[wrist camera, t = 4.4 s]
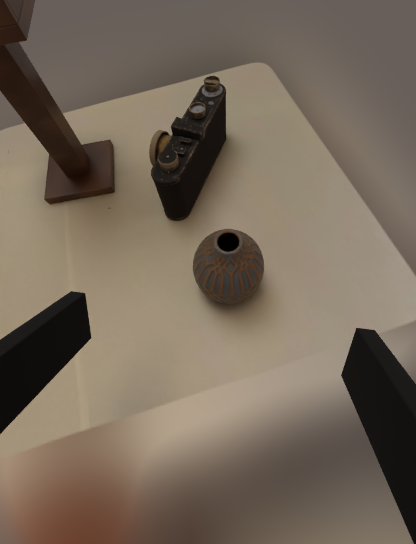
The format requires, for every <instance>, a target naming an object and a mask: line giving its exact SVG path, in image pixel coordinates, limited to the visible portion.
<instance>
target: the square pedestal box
mask: <svg viewBox="0 0 416 544" xmlns="http://www.w3.org/2000/svg"><path fill="white" fill-rule="evenodd" d="M34 3H35V0H0V91H1V92H2V94H3V95H4V96H5V97H6V99H7V100H8V101H9V103H10V104H11V105H12V106H13V108H14V109H15V110H16V112H17V113H18V114H19V115H20V117H21V118H22V119H23V121H24V122H25V123H26V124H27V126H28V127H29V128H30V130H31V131H32V132H33V133H34V135H35V136H36V137H37V139H38V140H39V141H40V143H41V144H42V145H43V146H44V148H45V149H46V150H47V152H48V153H49V161H48V171H47V180H46V189H45V200H46V201H47V202H48V203H49V204H51V203H56V202H62V201H67V200H73V199H78V198H84V197H89V196H95V195H100V194H106V193H111V192H114V165H113V144H112V142H111V140H106V141H100V142H95V143H89V144H83V145H81V143H80V142H79V140H78V138H77V137H76V135H75V134H74V132H73V130H72V129H71V127H70V125H69V124H68V122H67V120H66V119H65V117H64V116H63V114H62V112H61V111H60V109H59V107H58V106H57V104H56V102H55V101H54V99H53V98H52V96H51V95H50V93H49V91H48V90H47V88H46V86H45V85H44V83H43V81H42V80H41V78H40V76H39V75H38V73H37V71H36V70H35V68H34V67H33V65H32V63H31V62H30V60H29V58H28V57H27V55H26V53H25V52H24V50H23V49H22V47H21V45H20V44H19V42H21V41H26V40H27V37H28V32H29V27H30V22H31V18H32V13H33V8H34Z"/></svg>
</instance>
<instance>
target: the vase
mask: <svg viewBox="0 0 416 544" xmlns="http://www.w3.org/2000/svg"><path fill="white" fill-rule="evenodd" d="M193 272H194V277H195V280H196V282H197V284H198V286H199V288H200V289H201V291H202V292H203V293H204V294H205V295H206V296H208V297H209V298H210V299H212V300H214V301H217V302H220V303H225V304H231V303H237V302H240V301H243V300H245V299H246V298H248V297H249V296H251V295H252V294H253V293H254V292H255V291H256V289H257V288H258V286H259V284H260V282H261V280H262V277H263V272H264V260H263V256H262V253H261V250H260V248H259V246H258V245H257V243H256V242H255V241H254V240H253V239H252V238H251V237H250V236H249V235H247V234H245V233H243V232H241V231H238V230H233V229H224V230H219V231H216V232H214V233H212V234H210V235H209V236H207V237H206V238H205V239H204V240H203V241H202V242H201V244H200V245H199V247H198V248H197V250H196V253H195V256H194V260H193Z"/></svg>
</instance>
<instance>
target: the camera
mask: <svg viewBox="0 0 416 544" xmlns="http://www.w3.org/2000/svg"><path fill="white" fill-rule="evenodd" d="M171 129H172V133H173V134H172V136H170V135H169V134H168V132H166V131H161V130H159V131H157V132H156V133H155V134H154V136H153V137H152V140H151V144H150V152H149V153H150V161H151V164H152V165H153V168H152V170H151V176H152V178H153V180H154V183H155V185H156V188H157V191H158V194H159V196H160V199H161V202H162V205H163V207H164V211H165V214H166V216H167V217H168V218H170V219H172V220H183V219H185V218H186V217H187V216H188V215H189V214H190V212H191V209H192V207H193V205H194V203H195V201H196V199H197V197H198V195H199V193H200V191H201V189H202V187H203V185H204V183H205V181H206V179H207V177H208V175H209V173H210V171H211V169H212V167H213V165H214V163H215V160H216V158H217V156H218V154H219V152H220V150H221V148H222V146H223V144H224V142H225V140H226V89H225V87H224V86H223V85H222V84H220V80H219V78H218V77H216V76H209V77H207V78H205V80H204V85H203V86H201V88H200V89H199V91H198V93H197V94H196V96H195V98H194V99H193V101H192V103H191V104H190V106H189V108H188V109H187V111H186V113H185V114H184V116H183V118H182V119H181V118H178V117H176V119H175V120H174V122H173V124H172V125H171Z"/></svg>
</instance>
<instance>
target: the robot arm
mask: <svg viewBox="0 0 416 544" xmlns="http://www.w3.org/2000/svg"><path fill="white" fill-rule="evenodd" d="M90 339H91V333H90V325H89V318H88V311H87V304H86V296H85V293H80V292H72V291H71V292H70V293H68V294H67V295H65V296H64V297H62V298H61V299H59V300H58V301H56V302H55V303H53V304H52V305H51V306H49V307H48V308H46V309H45V310H43V311H42V312H40V313H39V314H37V315H36V316H34V317H33V318H31V319H30V320H29V321H27V322H26V323H24V324H23V325H21V326H20V327H18V328H17V329H15V330H14V331H12V332H11V333H9V334H8V335H7V336H5V337H4V338H2V339H1V340H0V434H1V433H2V432H3V431H4V430H5V428H6V427H7V426H8V425H9V424H10V423H11V422H12V421H13V420H14V419H15V418H16V417H17V416H18V415H19V414H20V413H21V412H22V411H23V409H24V408H25V407H26V406H27V405H28V404H29V403H30V402H31V401H32V400H33V399H34V398H35V397H36V396H37V395H38V394H39V393H40V391H41V390H42V389H43V388H44V387H45V386H46V385H47V384H48V383H49V382H50V381H51V380H52V379H53V378H54V377H55V376H56V375H57V374H58V372H59V371H60V370H61V369H62V368H63V367H64V366H65V365H66V364H67V363H68V362H69V361H70V360H71V359H72V358H73V357H74V356H75V355H76V353H77V352H78V351H79V350H80V349H81V348H82V347H83V346H84V345H85V344H86V343H87V342H88V341H89V340H90ZM341 376H342V378H343V381H344V383H345V385H346V387H347V390H348V392H349V394H350V396H351V399H352V401H353V404H354V406H355V408H356V411H357V413H358V415H359V418H360V420H361V422H362V425H363V427H364V429H365V432H366V434H367V436H368V438H369V441H370V443H371V445H372V448H373V450H374V452H375V455H376V457H377V459H378V462H379V464H380V466H381V468H382V471H383V473H384V475H385V478H386V480H387V482H388V485H389V487H390V489H391V492H392V494H393V496H394V499H395V501H396V503H397V505H398V508H399V510H400V512H401V515H402V517H403V519H404V522H405V524H406V526H407V529H408V531H409V533H410V536H411V538H412V540H413V542H414V544H416V384H415V383H414V381H413V380H412V379H411V377H410V376H409V375H408V374H407V372H406V371H405V370H404V368H403V367H402V366H401V364H400V363H399V362H398V361H397V359H396V358H395V356H394V355H393V354H392V352H391V351H390V350H389V349H388V347H387V346H386V345H385V343H384V342H383V340H382V339H381V338H380V337H379V335H378V334H377V333H376V331H375V330H369V329H361V328H356V331H355V334H354V337H353V340H352V344H351V347H350V350H349V353H348V356H347V359H346V362H345V365H344V368H343V372H342V375H341Z"/></svg>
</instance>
